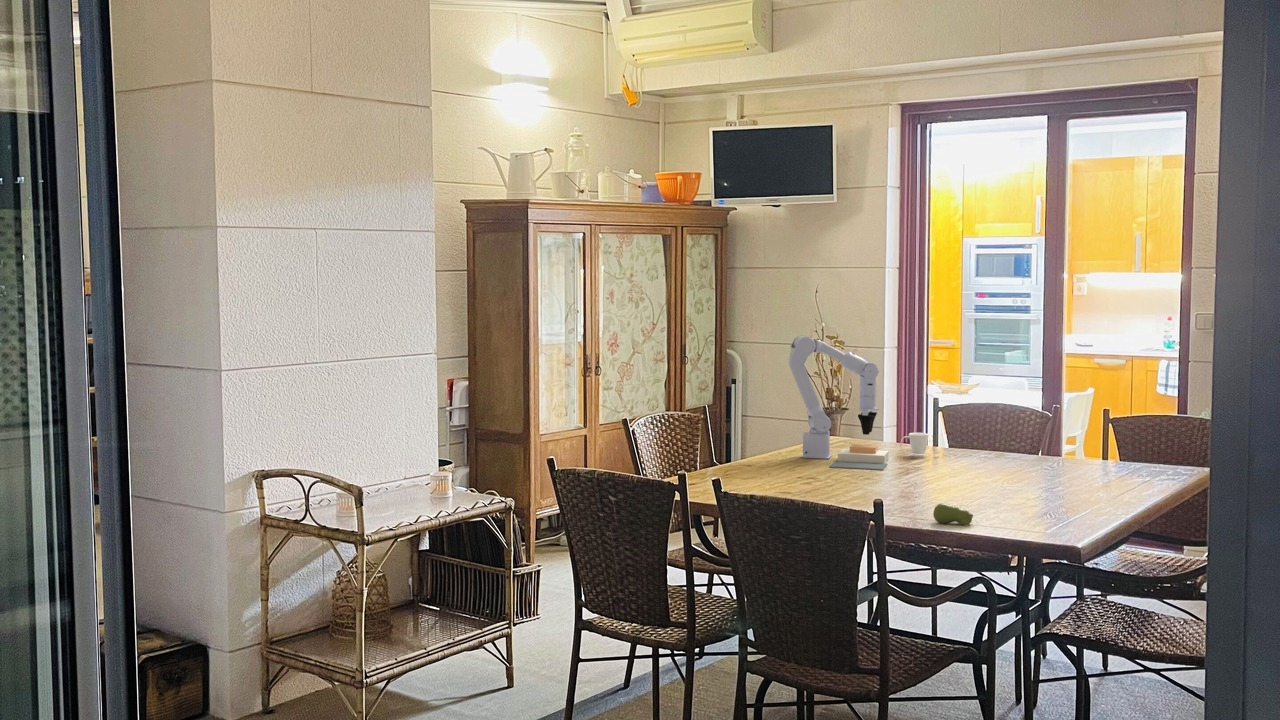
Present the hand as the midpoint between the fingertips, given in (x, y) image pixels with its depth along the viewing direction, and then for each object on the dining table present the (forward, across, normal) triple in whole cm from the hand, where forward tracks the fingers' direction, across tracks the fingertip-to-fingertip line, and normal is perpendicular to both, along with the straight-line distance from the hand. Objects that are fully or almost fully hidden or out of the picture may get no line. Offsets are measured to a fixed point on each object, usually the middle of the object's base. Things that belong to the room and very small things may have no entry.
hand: (867, 433), depth 419 cm
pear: (+9, -108, -36) cm, 115 cm away
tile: (+5, -9, 0) cm, 10 cm away
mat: (+8, -22, 0) cm, 24 cm away
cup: (+9, +7, -16) cm, 19 cm away
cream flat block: (+8, -10, 0) cm, 13 cm away
